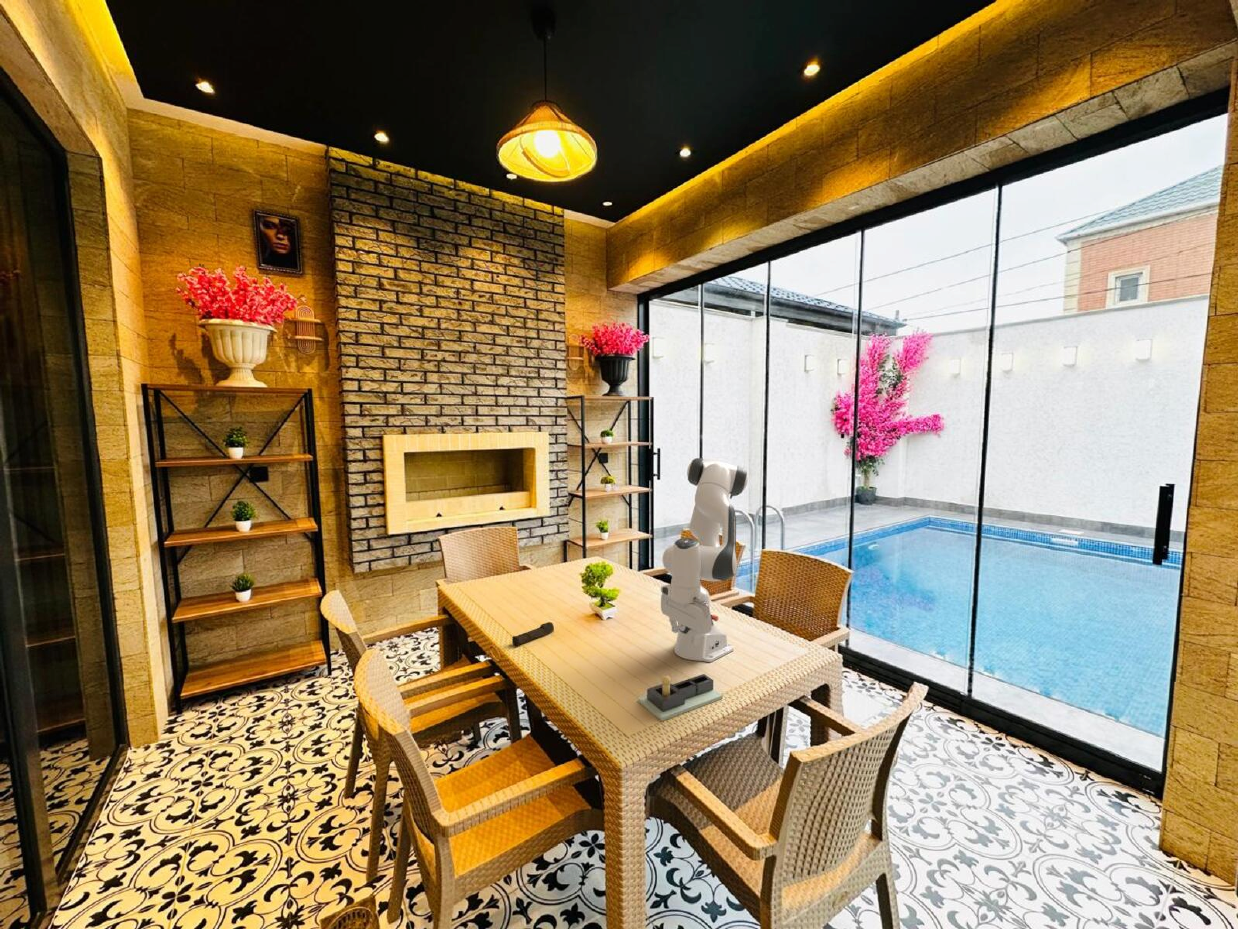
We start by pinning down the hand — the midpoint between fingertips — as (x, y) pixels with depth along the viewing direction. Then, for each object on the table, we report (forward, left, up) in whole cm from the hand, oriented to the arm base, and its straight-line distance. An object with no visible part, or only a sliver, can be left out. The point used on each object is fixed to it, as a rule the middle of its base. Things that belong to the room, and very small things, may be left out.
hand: (684, 637), depth 151 cm
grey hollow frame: (+1, 0, -18) cm, 18 cm away
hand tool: (+23, -64, -20) cm, 71 cm away
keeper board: (+2, 0, -19) cm, 19 cm away
